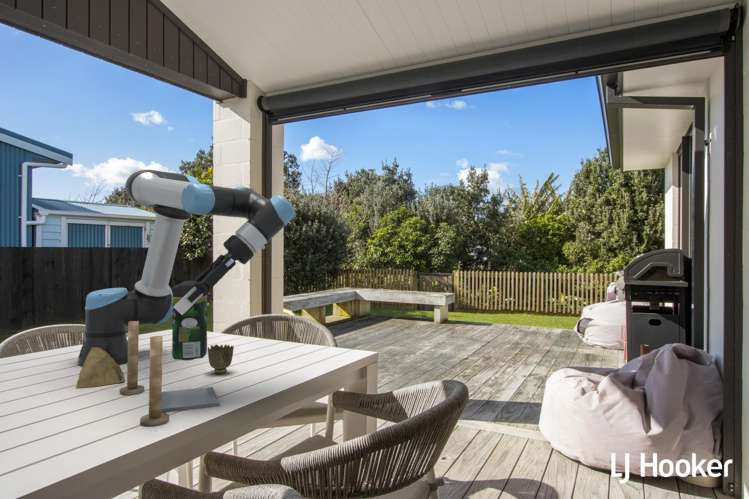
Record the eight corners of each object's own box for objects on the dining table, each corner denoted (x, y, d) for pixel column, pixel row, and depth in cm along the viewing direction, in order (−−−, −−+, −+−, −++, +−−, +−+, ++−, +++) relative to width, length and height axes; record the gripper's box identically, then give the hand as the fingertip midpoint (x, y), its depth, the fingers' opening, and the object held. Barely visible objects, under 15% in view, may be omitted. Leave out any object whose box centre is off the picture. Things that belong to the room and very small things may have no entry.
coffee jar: (174, 353, 119) (175, 279, 119) (207, 352, 121) (208, 279, 121) (168, 362, 110) (170, 281, 110) (205, 360, 112) (206, 281, 112)
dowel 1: (114, 394, 119) (116, 322, 119) (128, 388, 125) (129, 319, 125) (136, 395, 118) (137, 323, 119) (148, 389, 124) (150, 320, 124)
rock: (134, 370, 134) (100, 364, 135) (128, 350, 129) (93, 344, 130) (113, 402, 126) (77, 396, 126) (105, 382, 121) (67, 376, 121)
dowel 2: (134, 425, 98) (136, 338, 99) (149, 416, 104) (151, 334, 104) (160, 427, 98) (161, 339, 98) (174, 417, 104) (175, 335, 104)
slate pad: (159, 412, 106) (159, 409, 106) (158, 395, 119) (158, 392, 119) (219, 405, 112) (219, 402, 112) (212, 389, 125) (212, 386, 125)
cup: (225, 377, 137) (225, 349, 137) (202, 375, 139) (202, 348, 139) (237, 371, 144) (238, 344, 144) (215, 369, 146) (216, 343, 146)
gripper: (264, 255, 112) (191, 325, 105) (246, 254, 132) (185, 313, 125) (241, 231, 110) (166, 302, 103) (227, 234, 130) (163, 293, 123)
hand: (176, 308), depth 114 cm, fingers closed on coffee jar, 10 cm apart
